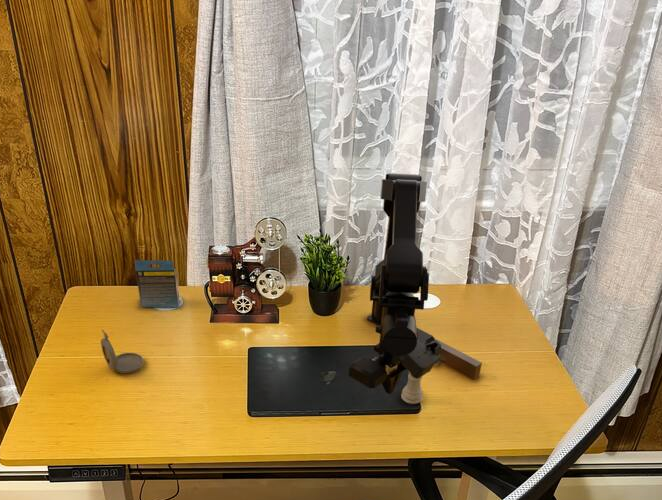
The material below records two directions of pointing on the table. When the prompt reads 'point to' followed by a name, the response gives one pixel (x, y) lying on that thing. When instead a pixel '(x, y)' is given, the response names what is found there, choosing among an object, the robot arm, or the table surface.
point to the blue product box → (157, 283)
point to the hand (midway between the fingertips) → (388, 392)
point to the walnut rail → (459, 361)
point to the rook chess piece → (412, 390)
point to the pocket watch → (120, 358)
